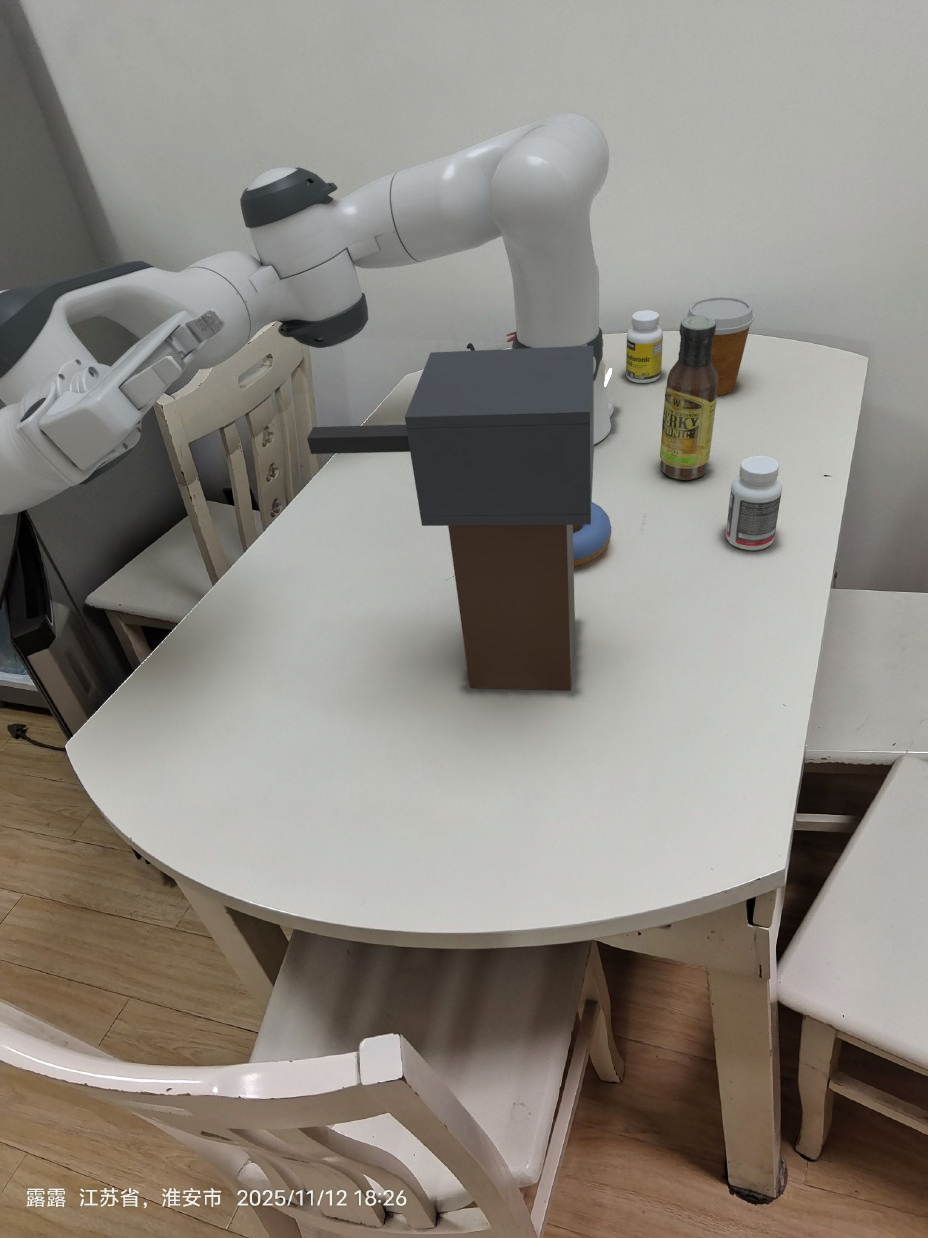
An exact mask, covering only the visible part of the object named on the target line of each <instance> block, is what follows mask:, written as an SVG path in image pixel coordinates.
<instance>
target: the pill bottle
mask: <svg viewBox="0 0 928 1238" xmlns="http://www.w3.org/2000/svg"><path fill="white" fill-rule="evenodd" d="M779 470H780V465H779V462H778V461H777V460H776V459H774V458H773V457H770V456H766V455H752V456H748V457H746V458H744V459H743V460H742V461H741V462H740V467H739V471H738V474H739V475H738V476H736V477H735V478H734V479H733V480H732V483H731V486H730V494H729V503H728V510H727V512H728V513H727V520H726V529H725V537H726V540H727V542H728V543H729V544H731V545H732V546H733V547H736V548H738V549H740V550H746V551H759V550H764V549H766V548H768V547H770V546H771V545H772V544H773V542H775V541H774V540H775V536H776V529H777V524H778V517H779V512H780V504H781V500H782V499H781V498H782V494H783V493H782V492H783V486H782V483H781V481H780V479H778V476H779Z"/></svg>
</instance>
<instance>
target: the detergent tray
mask: <svg viewBox="0 0 928 1238" xmlns="http://www.w3.org/2000/svg"><path fill="white" fill-rule="evenodd" d="M306 440H307V443H308V447H309V452H310V455H325V454H326V455H328V454H329V455H330V454H331V455H333V454H371V453H372V454H375V453H379V454H380V453H410V447H409V441H408V434H407V428H406V423H405V424H377V425H376V424H375V425H343V426H341V425H340V426H338V425H337V426H336V425H335V426H313V427H312V428H311V429H310V431H309V434H308V435H307V437H306Z"/></svg>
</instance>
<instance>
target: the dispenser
mask: <svg viewBox="0 0 928 1238" xmlns="http://www.w3.org/2000/svg"><path fill="white" fill-rule="evenodd" d="M404 421H405V424H406V428H407V434H408V441H409V447H410V452H409V453H410V459H411V465H412V471H413V477H414V478H413V479H414V484H415V490H416V491H415V492H416V498H417V505H418V509H419V515H420V522H421V523H420V524H421V526H422V527H444V526H445V527H447V528H448V535H449V543H450V550H451V556H452V557H451V558H452V564H453V573H454V581H455V587H456V588H455V589H456V594H457V601H458V610H459V616H460V617H459V618H460V624H461V632H462V639H463V648H464V653H465V661H466V669H467V677H468V684H469V688H470V689H496V690H497V689H503V690H536V691H537V690H539V691H540V690H543V691H545V690H546V691H549V690H550V691H571V690H572V683H573V665H574V649H575V648H574V647H575V633H576V632H575V631H576V630H575V628H576V608H575V605H576V604H575V566H574V557H573V533H574V529H573V525H590V524H591V506H592V502H593V481H594V480H593V478H594V458H595V457H594V455H595V451H594V450H595V448H594V447H595V444H594V378H593V346H572V347H548V348H525V349H512V348H507V349H506V348H504V349H481V350H479V349H478V350H475V351H471V350H455V351H454V350H453V351H434V352H433V351H432V352H431V351H430V353H429V355H428V358H427V360H426V363H425V365H424V368H423V370H422V372H421V375H420V377H419V380H418V383H417V385H416V388H415V391H414V393H413V395H412V398H411V400H410V403H409V405H408V408H407V411H406V412H405V415H404Z"/></svg>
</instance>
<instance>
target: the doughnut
mask: <svg viewBox="0 0 928 1238" xmlns="http://www.w3.org/2000/svg"><path fill="white" fill-rule="evenodd" d="M573 530H577V531H576V532H575V531H574V532H573V557H574V567H575V566H579V565H583V564H586V563H588V562H590V561H593V560H595V559H596V558H597V557H599V556H600V555H601V554H603V552H604V551H605V550H606V549H607V547H608V545H609V544H610V541H611V537H612V525H611V520H610V516H609V515H608V513H607V512H606V511H605V510H604V509H603V508H602V506H600V505H598V504H597V503H595V502H594V501H592V506H591V524H590V525H573Z"/></svg>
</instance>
